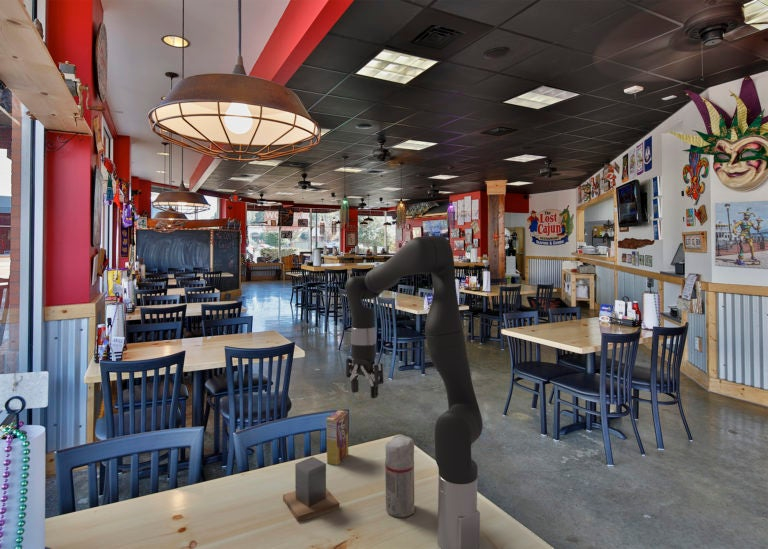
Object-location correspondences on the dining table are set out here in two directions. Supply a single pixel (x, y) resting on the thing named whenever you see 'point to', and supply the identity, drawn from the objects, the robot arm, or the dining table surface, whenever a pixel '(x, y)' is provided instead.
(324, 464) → the brushed steel block
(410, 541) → the dining table surface
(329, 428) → the candy box
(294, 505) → the wooden square base
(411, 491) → the white spray can
